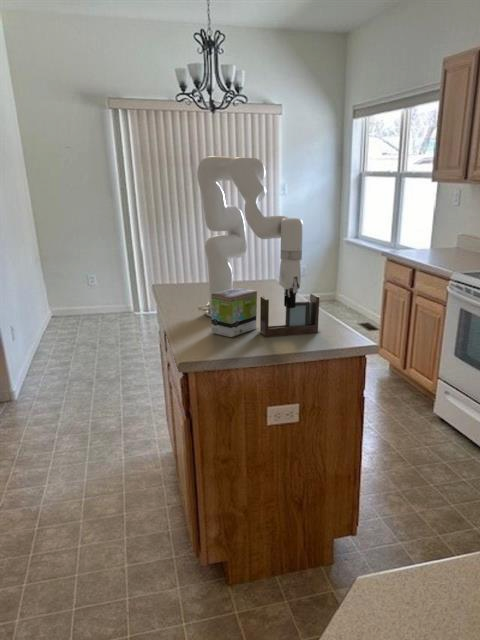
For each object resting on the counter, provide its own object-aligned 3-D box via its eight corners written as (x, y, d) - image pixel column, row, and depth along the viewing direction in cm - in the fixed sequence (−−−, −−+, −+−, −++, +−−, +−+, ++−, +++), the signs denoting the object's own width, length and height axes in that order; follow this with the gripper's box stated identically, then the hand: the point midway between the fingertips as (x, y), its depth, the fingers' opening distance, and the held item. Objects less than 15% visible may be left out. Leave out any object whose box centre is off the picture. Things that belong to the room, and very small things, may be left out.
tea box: (233, 338, 189) (232, 297, 184) (211, 333, 194) (209, 293, 188) (257, 328, 201) (257, 289, 196) (236, 324, 206) (235, 286, 200)
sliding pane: (286, 330, 194) (287, 292, 189) (285, 329, 196) (285, 291, 191) (308, 328, 197) (310, 291, 192) (307, 327, 199) (308, 290, 193)
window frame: (265, 336, 192) (265, 299, 187) (260, 332, 197) (260, 296, 192) (317, 332, 198) (319, 296, 193) (311, 328, 204) (313, 293, 199)
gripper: (273, 252, 191) (272, 302, 198) (288, 259, 177) (287, 313, 184) (293, 251, 194) (291, 301, 200) (309, 258, 180) (307, 311, 187)
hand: (289, 306), depth 192 cm, fingers closed on sliding pane
